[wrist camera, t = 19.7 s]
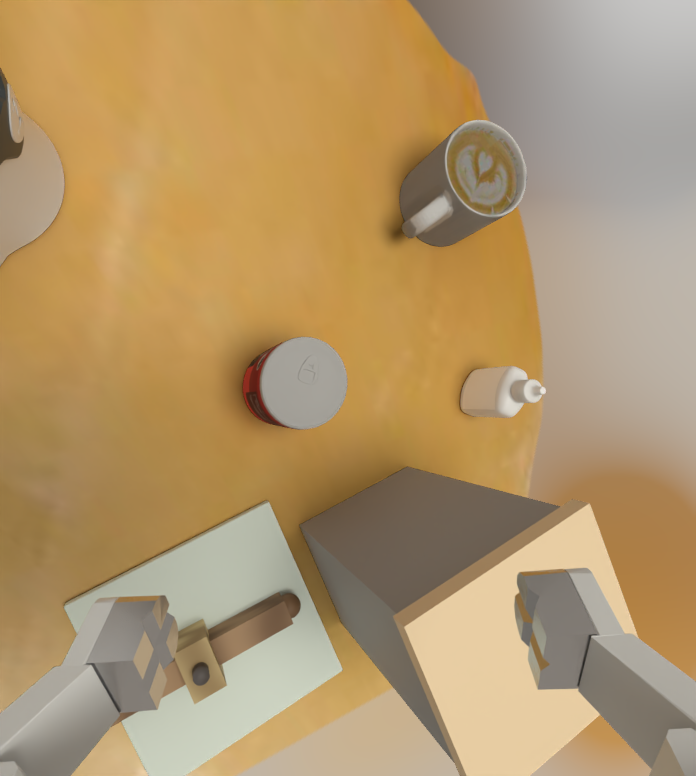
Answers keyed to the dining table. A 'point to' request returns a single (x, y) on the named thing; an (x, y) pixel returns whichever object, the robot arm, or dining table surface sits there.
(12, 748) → the robot arm
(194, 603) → the sage mat
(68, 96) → the dining table surface
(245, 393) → the canned food
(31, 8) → the dining table surface
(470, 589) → the stand
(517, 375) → the eye dropper bottle
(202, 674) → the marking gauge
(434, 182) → the coffee mug
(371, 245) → the dining table surface
